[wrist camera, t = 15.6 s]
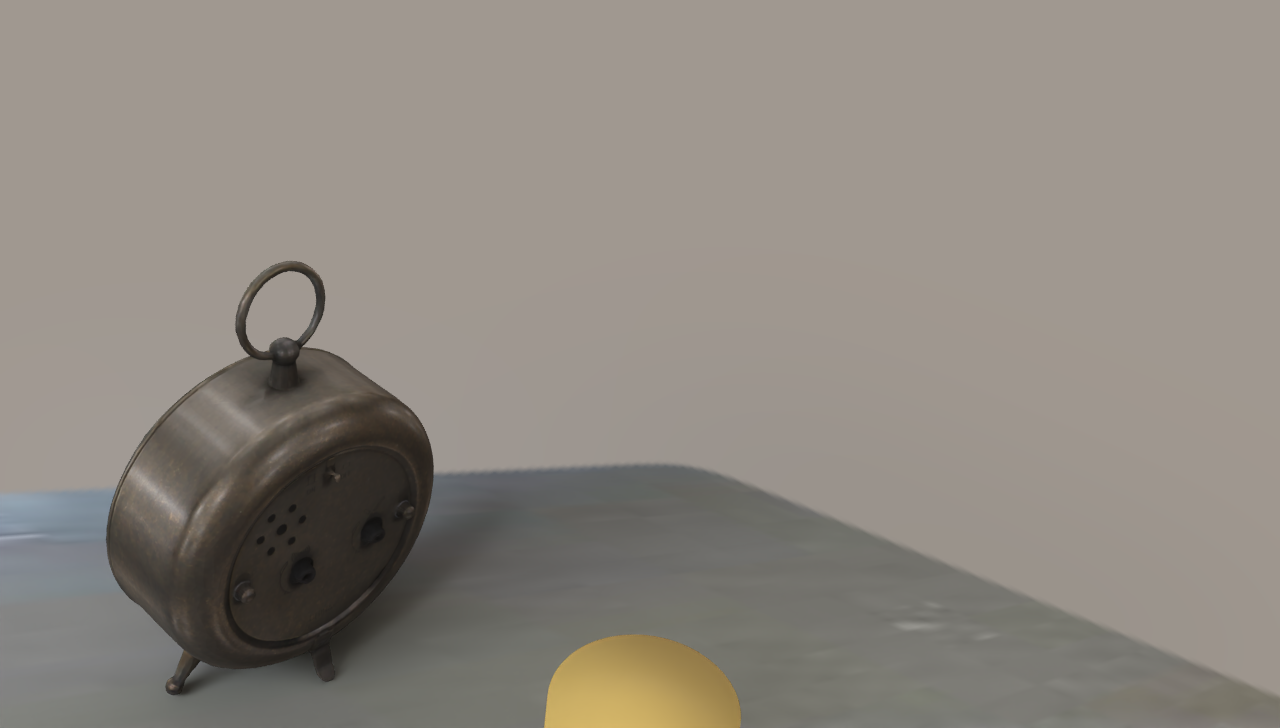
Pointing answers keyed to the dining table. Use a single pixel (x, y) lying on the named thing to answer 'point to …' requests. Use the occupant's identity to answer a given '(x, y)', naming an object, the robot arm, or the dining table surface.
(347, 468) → the alarm clock
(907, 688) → the dining table surface
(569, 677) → the marker
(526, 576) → the dining table surface
